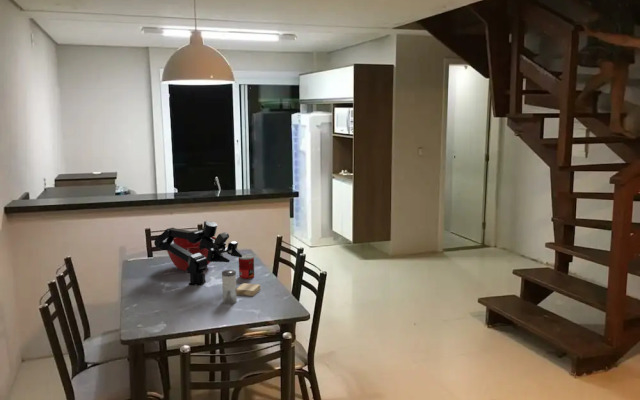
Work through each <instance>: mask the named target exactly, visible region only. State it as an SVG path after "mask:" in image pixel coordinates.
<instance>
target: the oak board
mask: <svg viewBox="0 0 640 400" xmlns="http://www.w3.org/2000/svg"><path fill="white" fill-rule="evenodd" d="M260 291H261V284H259V283H258V284H255V283H241V284H240V285H239V286H238V287H236V296H237V295H240V296H252V297H254V296H255V295H256V294H257V293H258V292H260Z"/></svg>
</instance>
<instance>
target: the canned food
mask: <svg viewBox="0 0 640 400" xmlns="http://www.w3.org/2000/svg"><path fill="white" fill-rule="evenodd" d="M238 276H239V278H240V279H243V280H248V279H253V278H255V257H254V254H242V257H238Z"/></svg>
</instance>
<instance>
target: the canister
mask: <svg viewBox="0 0 640 400" xmlns="http://www.w3.org/2000/svg"><path fill="white" fill-rule="evenodd" d="M236 275H237V271H236V270H234V269H225V270H223V271H221V278H222V302H223V303H224V304H225V305H233V304H235V303H237V302H238V301H237V300H238V299H237V294H236V288H237V277H236ZM223 303H222V304H223Z"/></svg>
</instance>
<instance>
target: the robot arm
mask: <svg viewBox="0 0 640 400" xmlns="http://www.w3.org/2000/svg"><path fill="white" fill-rule="evenodd" d="M217 229H218V223H217V222H215V221H214V222H213V221H209V220H205V221H204V222H203V227H202V229H196V230H187V229H182V228H181V229H180V228H175V227H169V228H166V229H164V231H163V232H162V233H161V234H159V235H158V236H157V237H156V238H155V239H154V242H153V243H154V247H155V248H156V249H158V250H162V251H166V252H167V251H170V252H171V253H173V254H175V255H176V256H178V257H180V258H181V259H183V260H184V261H186V262H188V265H189V267H188V268H187V271H186V272H187V274H189V283H188V285H190V286H202V285H203V284H204V283H206V282H207V281H206V274H205V271H206V270H207V268H208V266H209V264H208V261H209V262H210V263H212V262H213V263H230V259H229V258H228V257H226V256H225V255H224V254H227V255H230V256H232V257H236V258H239V257H242V255H243V254H242V253H241V252H240V250H239V249H238V246H239V245H238V244H239V243H238V242H237V241H235V240H234V241H233V240H232V241H231V242H228V245H227V240H228V239H229V238H230V234H229V233H227V232H221V233H219V234H217V233H216V232H217ZM216 234H217V236H216ZM215 236H216V237H215ZM212 237H215V238H216V239H215V240H214V239H212ZM174 238H182V239H186V240H188V242H191V243H193V244H195V243H198V242H200V244H199V249H200V250H201V249H205V248H206V249H208V254H207V258H206V257H205V256H204V255H202V254H200V253H196V254H192V253H190V252H189V251H187V250H185V249H183V248H182V247H180V246H178V245H177V244H175V243H174V241H173V239H174ZM226 245H227V246H226ZM207 260H208V261H207Z"/></svg>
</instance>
